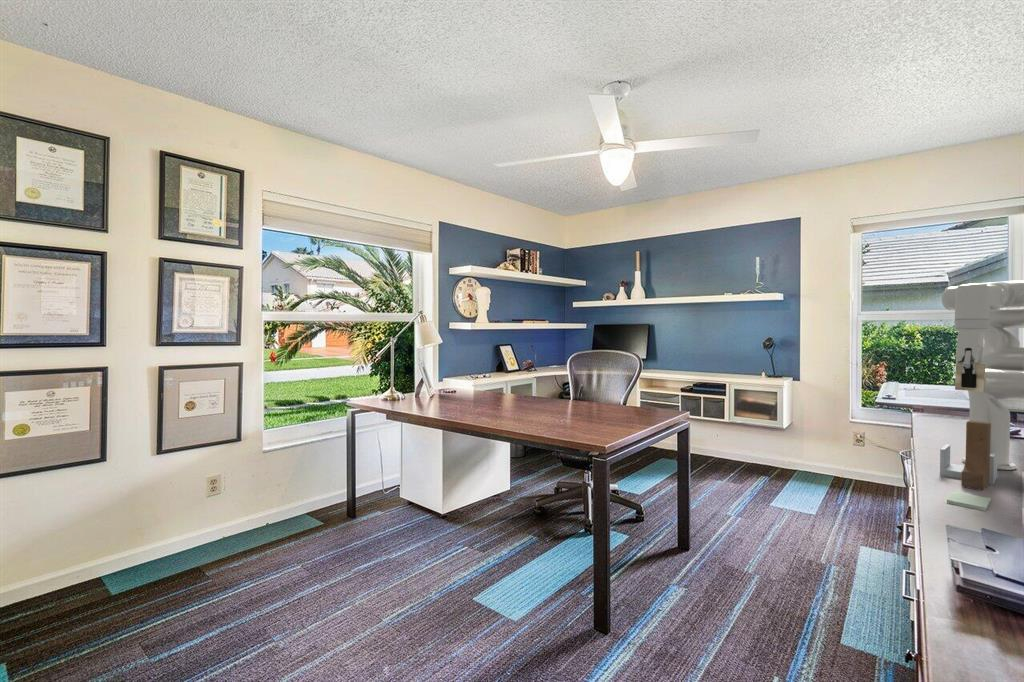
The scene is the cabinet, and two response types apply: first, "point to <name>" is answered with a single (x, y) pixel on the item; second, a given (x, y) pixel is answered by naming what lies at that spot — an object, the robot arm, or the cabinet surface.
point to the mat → (969, 500)
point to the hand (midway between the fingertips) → (969, 386)
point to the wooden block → (977, 455)
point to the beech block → (979, 382)
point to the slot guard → (956, 470)
